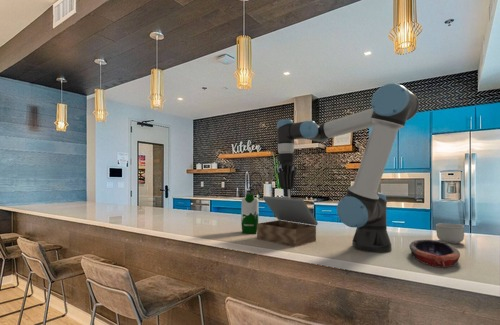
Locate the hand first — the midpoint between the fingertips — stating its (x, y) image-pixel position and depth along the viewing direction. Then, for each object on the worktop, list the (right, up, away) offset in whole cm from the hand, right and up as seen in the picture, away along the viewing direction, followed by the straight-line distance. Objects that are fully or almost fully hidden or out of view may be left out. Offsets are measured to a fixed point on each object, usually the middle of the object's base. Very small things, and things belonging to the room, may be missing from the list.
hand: (287, 203), depth 140 cm
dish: (+50, -17, -31) cm, 61 cm away
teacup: (+74, -18, -2) cm, 76 cm away
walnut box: (-1, -17, -1) cm, 17 cm away
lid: (+1, -4, +1) cm, 4 cm away
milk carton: (-18, -18, +16) cm, 30 cm away
